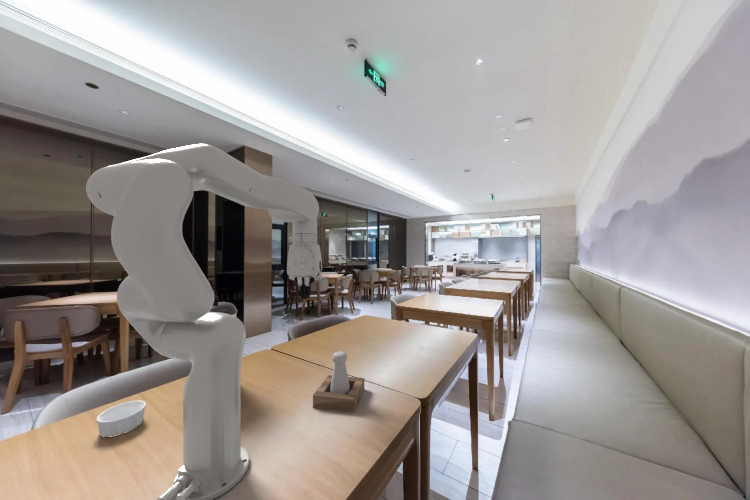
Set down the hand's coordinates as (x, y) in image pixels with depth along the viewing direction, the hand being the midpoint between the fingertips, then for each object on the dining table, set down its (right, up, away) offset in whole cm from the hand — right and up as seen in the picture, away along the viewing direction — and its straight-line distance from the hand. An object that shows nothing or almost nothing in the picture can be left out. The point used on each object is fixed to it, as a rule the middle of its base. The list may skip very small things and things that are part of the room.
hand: (305, 298), depth 82 cm
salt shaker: (+12, -29, -5) cm, 31 cm away
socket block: (+12, -29, -4) cm, 32 cm away
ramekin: (-42, -30, -17) cm, 54 cm away
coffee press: (-28, -30, 0) cm, 41 cm away
